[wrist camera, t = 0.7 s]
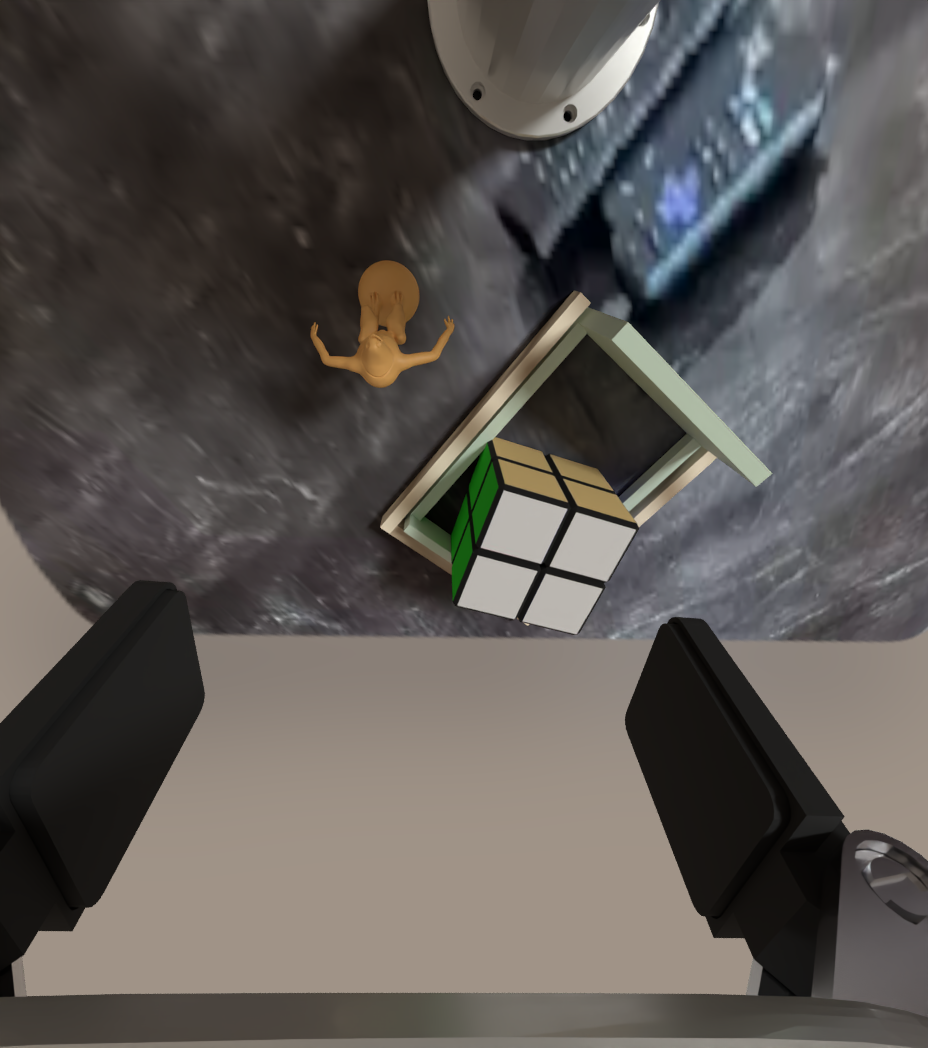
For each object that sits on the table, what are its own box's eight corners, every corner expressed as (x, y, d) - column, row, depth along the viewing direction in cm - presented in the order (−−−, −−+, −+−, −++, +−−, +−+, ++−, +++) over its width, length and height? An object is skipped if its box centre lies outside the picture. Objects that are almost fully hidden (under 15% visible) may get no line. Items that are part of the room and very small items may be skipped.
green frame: (586, 307, 35) (628, 322, 27) (706, 429, 39) (772, 473, 31) (405, 514, 42) (397, 573, 34) (525, 596, 47) (541, 665, 39)
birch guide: (573, 290, 34) (580, 292, 33) (717, 437, 40) (730, 446, 38) (382, 516, 42) (379, 527, 41) (524, 612, 48) (527, 625, 46)
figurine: (450, 257, 33) (452, 258, 23) (454, 350, 36) (458, 390, 25) (327, 262, 33) (271, 266, 22) (341, 355, 36) (298, 397, 25)
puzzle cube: (552, 564, 45) (579, 638, 36) (449, 537, 43) (450, 608, 35) (600, 468, 41) (643, 526, 32) (487, 433, 39) (500, 484, 30)
